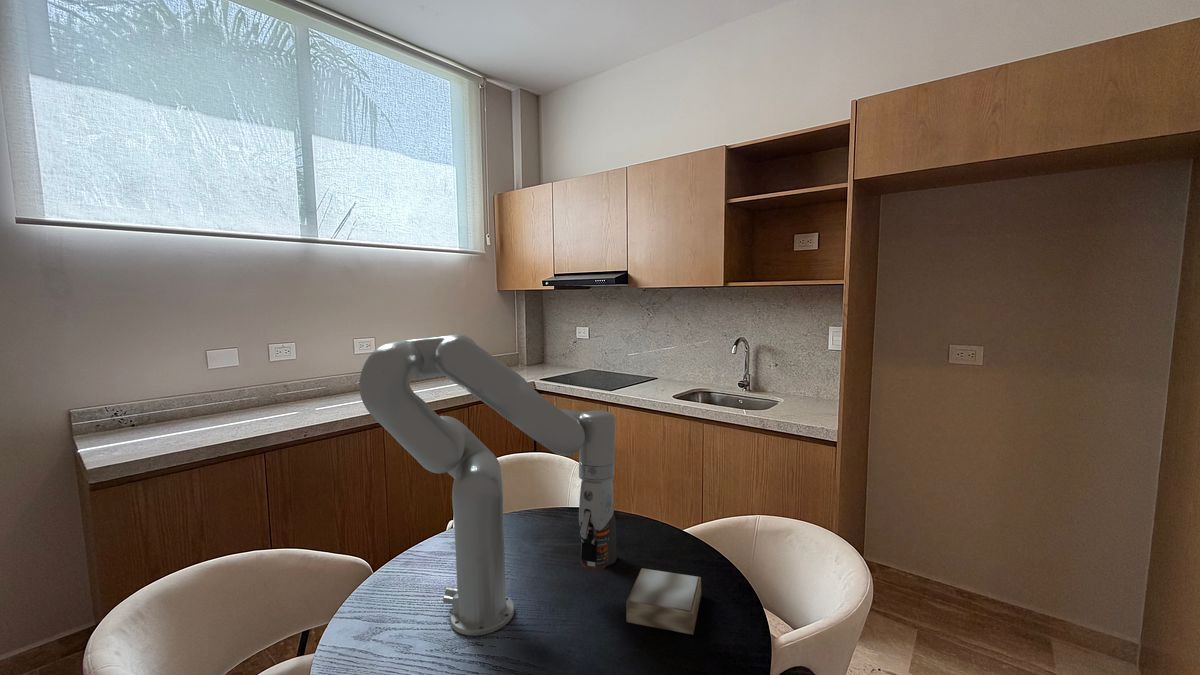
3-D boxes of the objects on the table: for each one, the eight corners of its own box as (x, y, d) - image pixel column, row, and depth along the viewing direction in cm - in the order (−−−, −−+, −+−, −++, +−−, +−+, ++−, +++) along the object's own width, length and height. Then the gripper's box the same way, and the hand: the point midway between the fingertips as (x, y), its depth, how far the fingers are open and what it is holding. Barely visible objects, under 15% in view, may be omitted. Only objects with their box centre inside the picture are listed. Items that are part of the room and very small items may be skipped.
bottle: (616, 565, 115) (615, 504, 114) (592, 565, 115) (591, 505, 114) (616, 553, 120) (615, 495, 120) (593, 553, 121) (591, 495, 120)
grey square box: (626, 621, 94) (626, 600, 93) (641, 585, 106) (641, 566, 106) (693, 634, 89) (692, 612, 89) (701, 595, 102) (700, 575, 102)
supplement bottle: (596, 575, 97) (598, 520, 97) (574, 565, 101) (575, 513, 100) (613, 563, 102) (615, 511, 102) (592, 554, 106) (593, 504, 105)
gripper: (600, 485, 91) (598, 577, 92) (624, 460, 108) (622, 538, 108) (564, 480, 94) (562, 569, 94) (593, 456, 110) (591, 533, 111)
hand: (594, 552), depth 101 cm, fingers closed on supplement bottle, 6 cm apart
